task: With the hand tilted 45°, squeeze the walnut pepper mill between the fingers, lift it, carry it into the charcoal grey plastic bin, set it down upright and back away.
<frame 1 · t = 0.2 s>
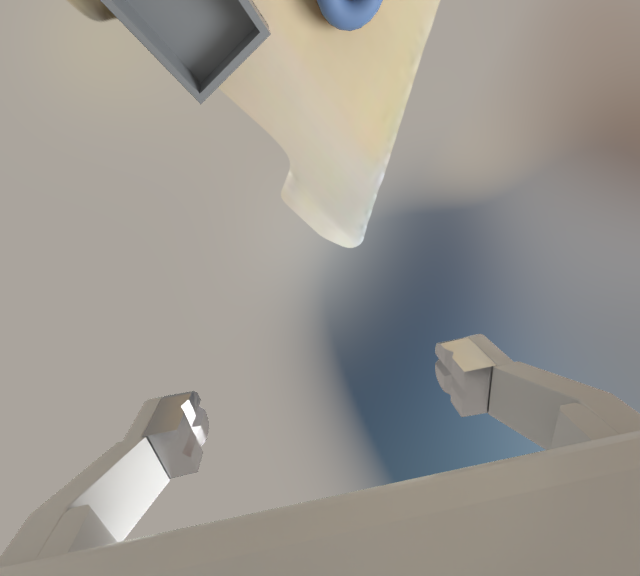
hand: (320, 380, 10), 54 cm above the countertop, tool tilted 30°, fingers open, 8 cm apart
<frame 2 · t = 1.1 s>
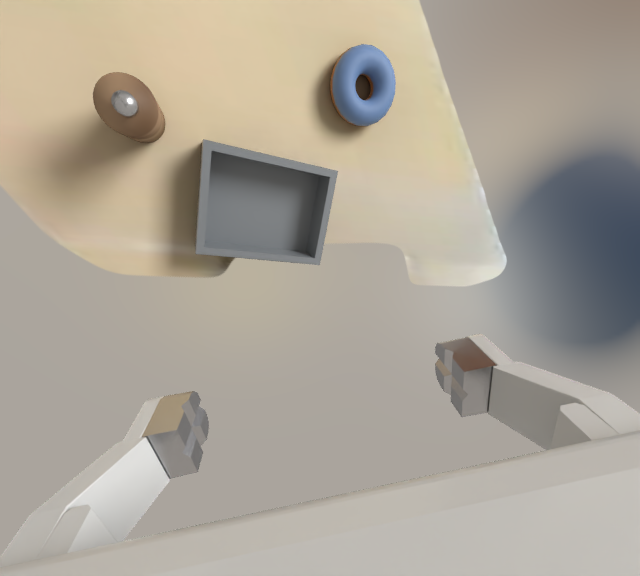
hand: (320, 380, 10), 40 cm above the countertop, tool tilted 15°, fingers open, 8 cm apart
bin: (262, 206, 46), on the countertop
pepper mill: (141, 119, 37), on the countertop
doughnut: (356, 90, 46), on the countertop
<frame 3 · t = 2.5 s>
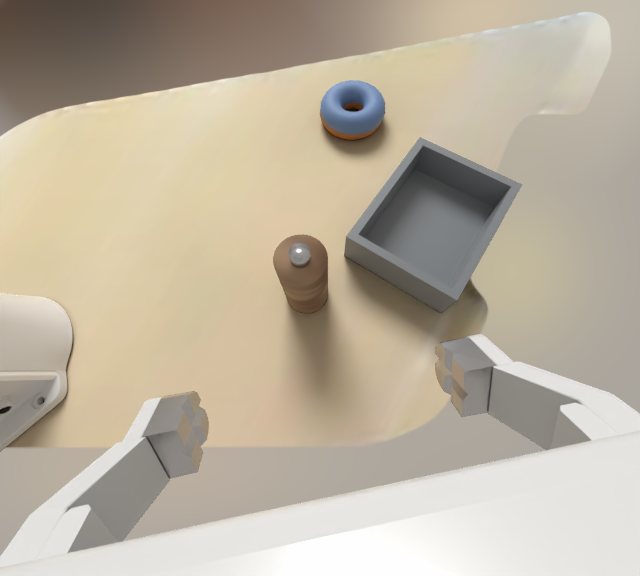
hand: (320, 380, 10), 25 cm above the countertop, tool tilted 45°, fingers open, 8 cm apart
bin: (424, 231, 41), on the countertop
pepper mill: (307, 293, 38), on the countertop
doughnut: (351, 122, 49), on the countertop
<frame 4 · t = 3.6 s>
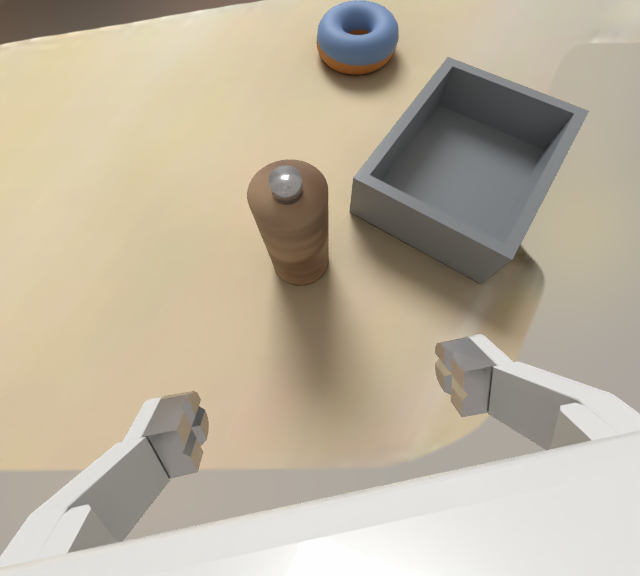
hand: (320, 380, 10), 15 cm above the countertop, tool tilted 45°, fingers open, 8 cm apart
bin: (453, 181, 31), on the countertop
pepper mill: (301, 259, 29), on the countertop
doughnut: (355, 56, 39), on the countertop
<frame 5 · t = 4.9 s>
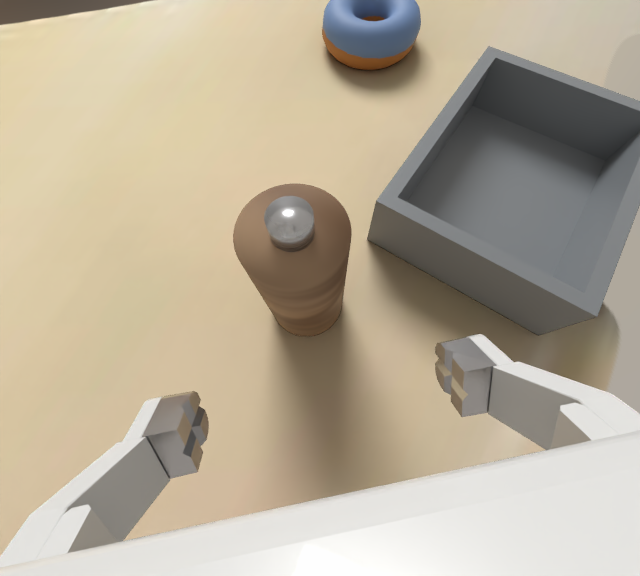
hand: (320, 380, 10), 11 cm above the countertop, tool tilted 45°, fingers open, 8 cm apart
bin: (494, 200, 25), on the countertop
pepper mill: (307, 302, 23), on the countertop
doughnut: (367, 48, 33), on the countertop
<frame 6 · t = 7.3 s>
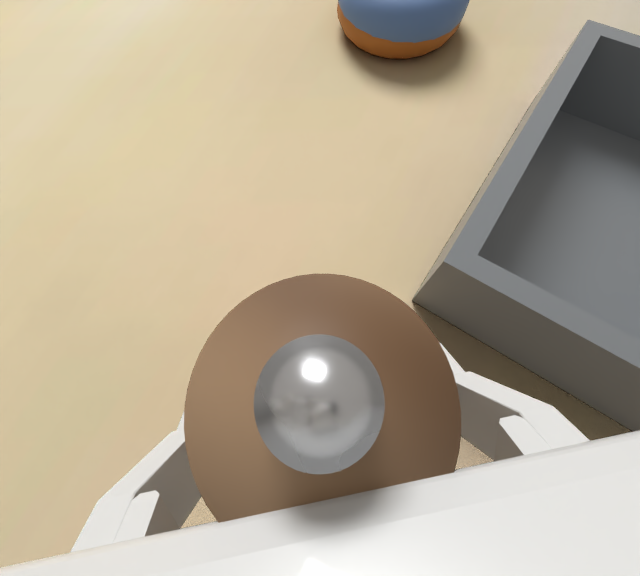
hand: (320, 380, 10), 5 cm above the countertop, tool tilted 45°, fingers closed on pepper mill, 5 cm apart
bin: (592, 241, 18), on the countertop
pepper mill: (326, 401, 15), on the countertop, touching gripper
doughnut: (395, 31, 26), on the countertop
when the fingers open (8 cm above the countertop, at t = 12.6 s): pepper mill drops 1 cm, resting on bin.
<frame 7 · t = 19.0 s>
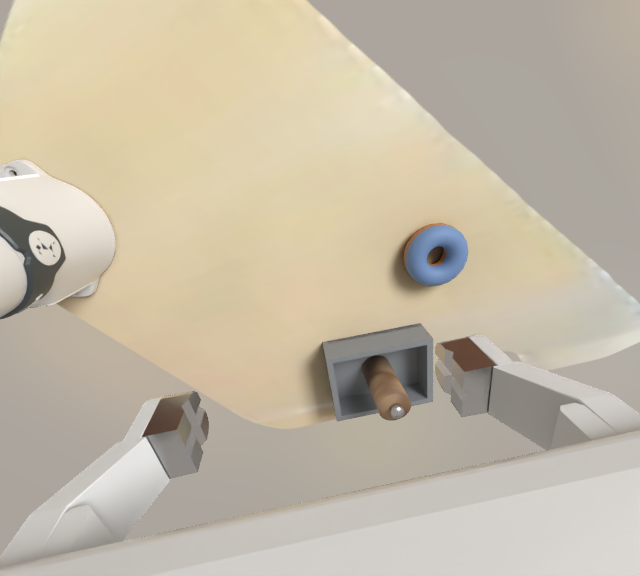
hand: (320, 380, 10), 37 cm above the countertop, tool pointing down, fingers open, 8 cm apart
bin: (374, 363, 57), on the countertop
pepper mill: (375, 366, 56), point 1 cm above the countertop, touching bin
doughnut: (429, 251, 50), on the countertop
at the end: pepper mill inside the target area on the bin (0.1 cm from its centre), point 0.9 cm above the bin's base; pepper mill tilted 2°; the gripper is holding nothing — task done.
